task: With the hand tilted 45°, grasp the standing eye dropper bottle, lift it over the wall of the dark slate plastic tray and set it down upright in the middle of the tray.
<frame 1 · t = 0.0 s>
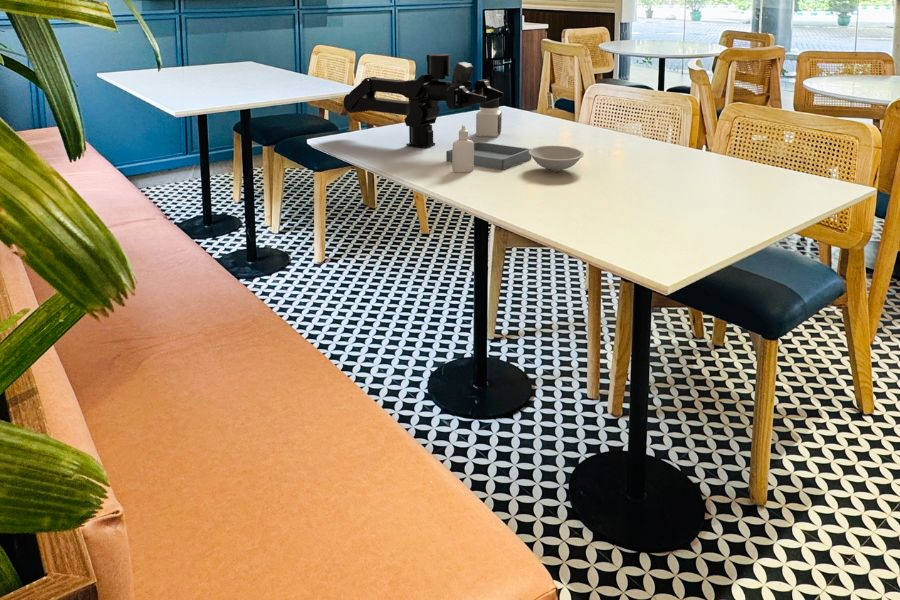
hand: (494, 96, 229), 17 cm above the table, tool horizontal, fingers open, 9 cm apart
eye dropper bottle: (462, 171, 218), on the table
dish: (555, 171, 219), on the table
slate tray: (489, 160, 230), on the table
medicine bottle: (488, 135, 264), on the table
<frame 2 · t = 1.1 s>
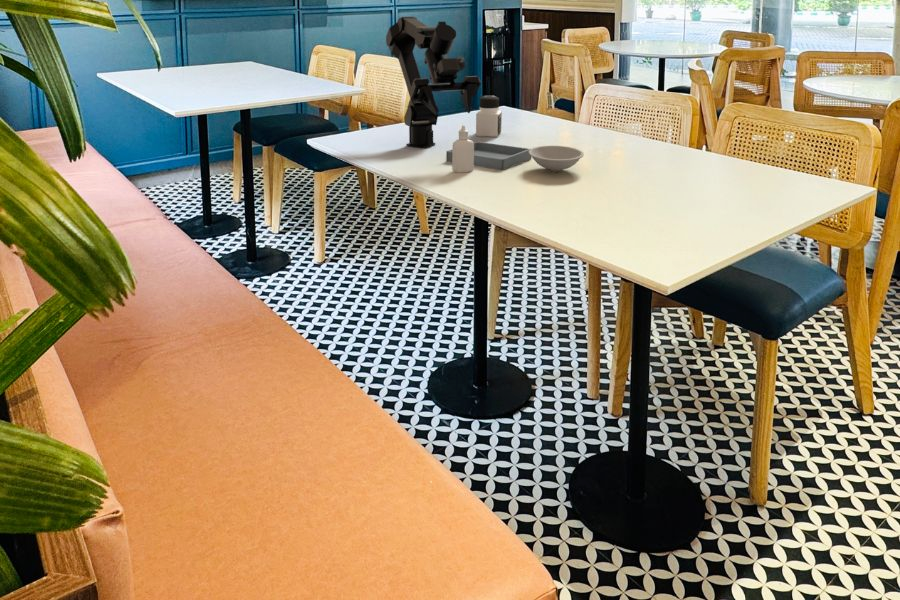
hand: (453, 113, 220), 14 cm above the table, tool tilted 45°, fingers open, 9 cm apart
nothing on the table moved.
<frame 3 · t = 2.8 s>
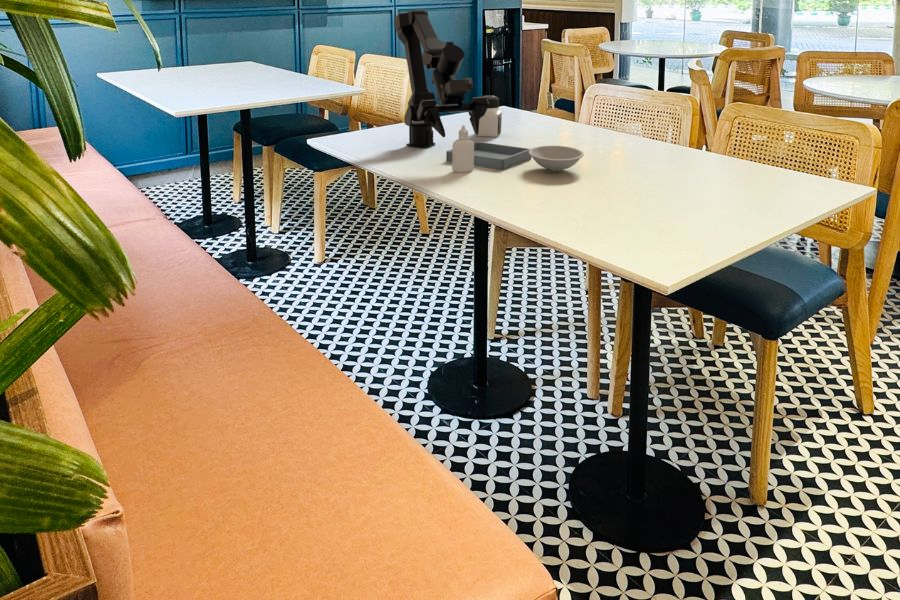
hand: (460, 135, 216), 9 cm above the table, tool tilted 45°, fingers open, 9 cm apart
nothing on the table moved.
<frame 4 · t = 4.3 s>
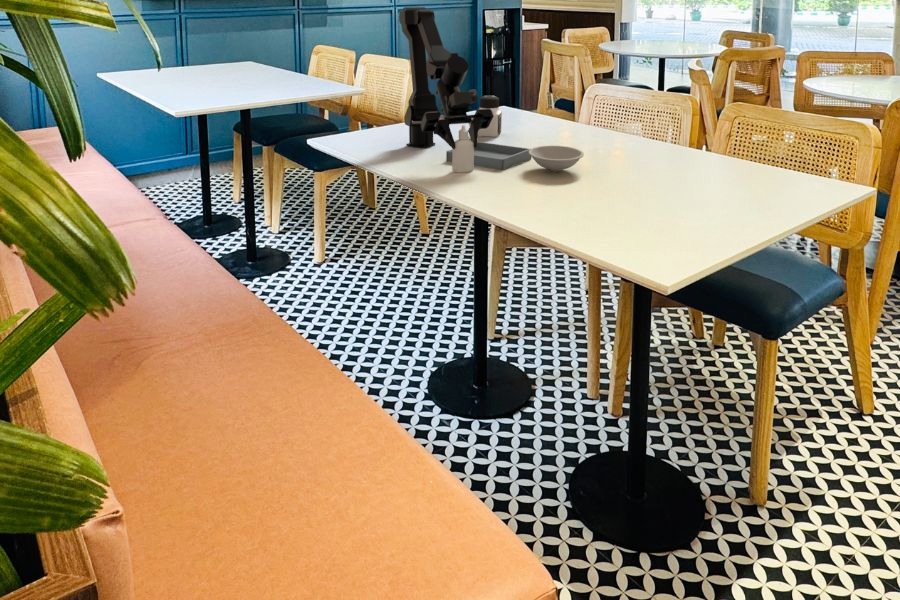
hand: (465, 147, 214), 7 cm above the table, tool tilted 45°, fingers closed on eye dropper bottle, 6 cm apart
eye dropper bottle: (462, 171, 218), on the table, touching gripper
everything else where it was.
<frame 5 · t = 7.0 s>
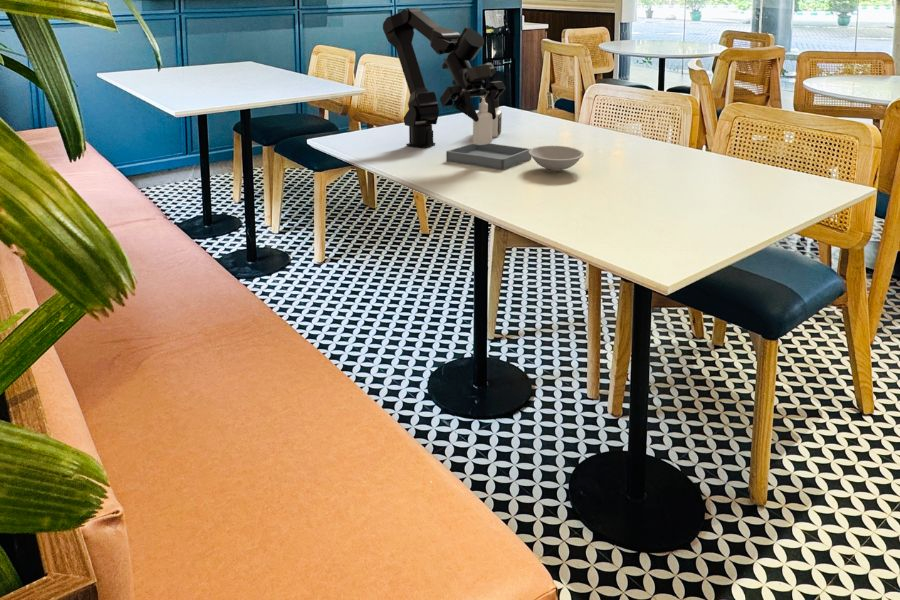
hand: (486, 119, 220), 12 cm above the table, tool tilted 45°, fingers closed on eye dropper bottle, 5 cm apart
eye dropper bottle: (482, 144, 224), point 5 cm above the table, touching gripper
everything else where it was.
when the fingers open (8 cm above the table, at t = 9.3 s): eye dropper bottle stays where it is, resting on slate tray.
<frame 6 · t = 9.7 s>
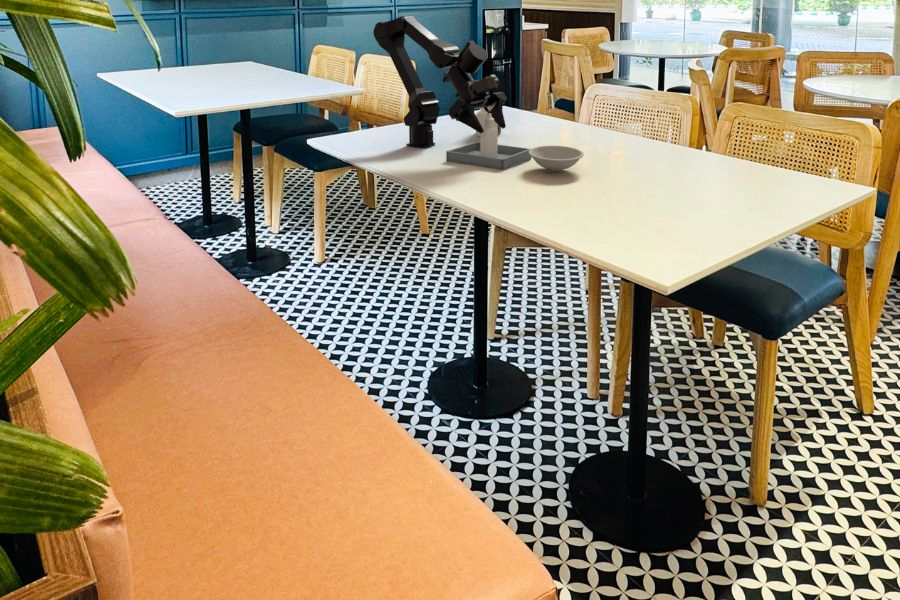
hand: (493, 130, 226), 9 cm above the table, tool tilted 45°, fingers open, 9 cm apart
eye dropper bottle: (488, 157, 230), point 1 cm above the table, touching slate tray
everything else where it was.
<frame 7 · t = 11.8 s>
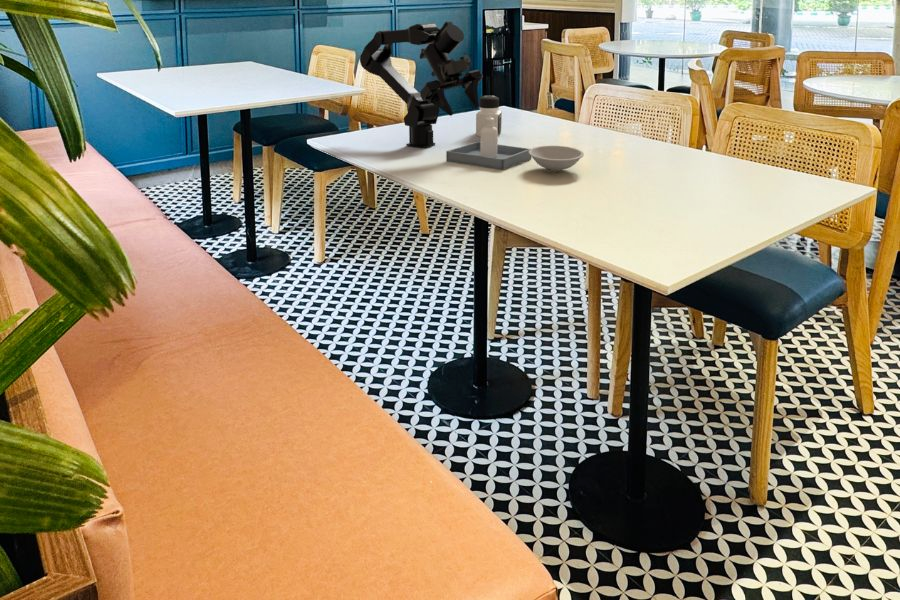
hand: (465, 111, 231), 12 cm above the table, tool tilted 40°, fingers open, 9 cm apart
nothing on the table moved.
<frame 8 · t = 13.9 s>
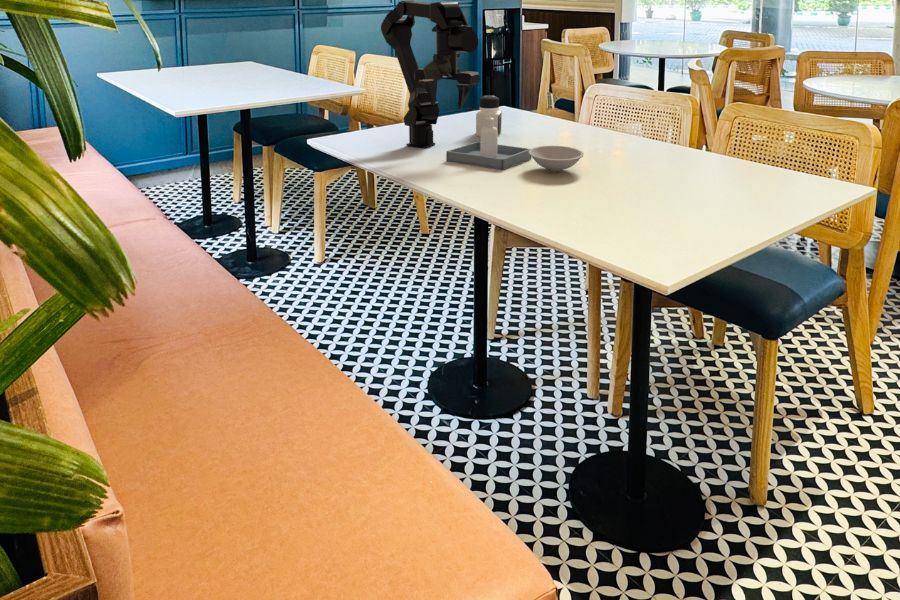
hand: (446, 107, 234), 13 cm above the table, tool pointing down, fingers open, 9 cm apart
nothing on the table moved.
at the end: eye dropper bottle inside the target area on the slate tray (0.2 cm from its centre), point 0.6 cm above the slate tray's base; eye dropper bottle tilted 0°; the gripper is holding nothing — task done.
